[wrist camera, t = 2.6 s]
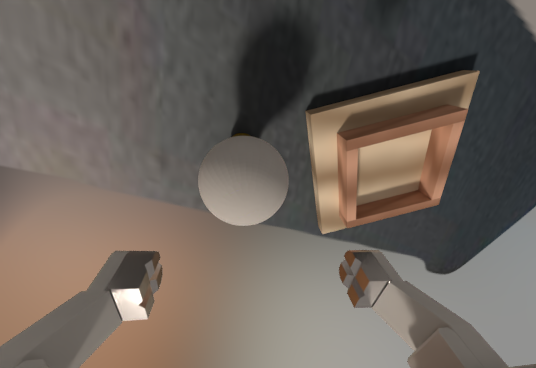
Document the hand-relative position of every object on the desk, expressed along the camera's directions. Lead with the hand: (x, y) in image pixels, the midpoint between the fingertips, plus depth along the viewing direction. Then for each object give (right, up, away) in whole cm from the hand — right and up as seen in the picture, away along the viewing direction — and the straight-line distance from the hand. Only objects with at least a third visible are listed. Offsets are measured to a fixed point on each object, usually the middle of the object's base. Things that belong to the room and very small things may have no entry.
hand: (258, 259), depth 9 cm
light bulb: (-2, +7, +11) cm, 13 cm away
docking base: (+13, +6, +14) cm, 20 cm away
